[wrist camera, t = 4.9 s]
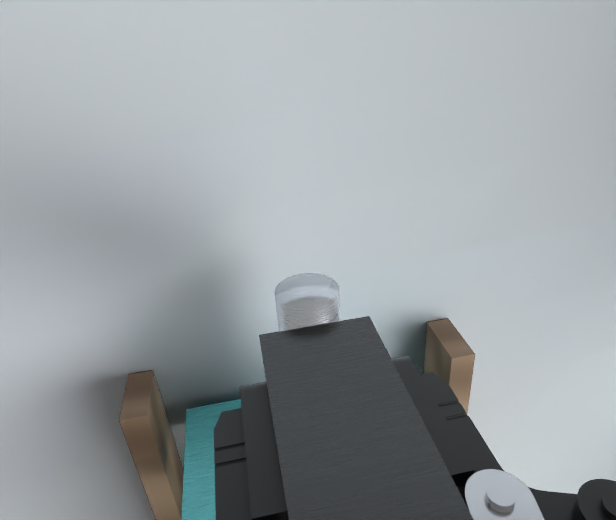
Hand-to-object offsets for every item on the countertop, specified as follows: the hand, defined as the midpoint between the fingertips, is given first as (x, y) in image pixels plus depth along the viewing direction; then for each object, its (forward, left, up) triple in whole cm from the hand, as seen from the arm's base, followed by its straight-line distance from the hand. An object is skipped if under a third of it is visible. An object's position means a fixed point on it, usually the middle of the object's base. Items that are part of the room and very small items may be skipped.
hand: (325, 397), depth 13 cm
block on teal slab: (+3, 0, -7) cm, 8 cm away
